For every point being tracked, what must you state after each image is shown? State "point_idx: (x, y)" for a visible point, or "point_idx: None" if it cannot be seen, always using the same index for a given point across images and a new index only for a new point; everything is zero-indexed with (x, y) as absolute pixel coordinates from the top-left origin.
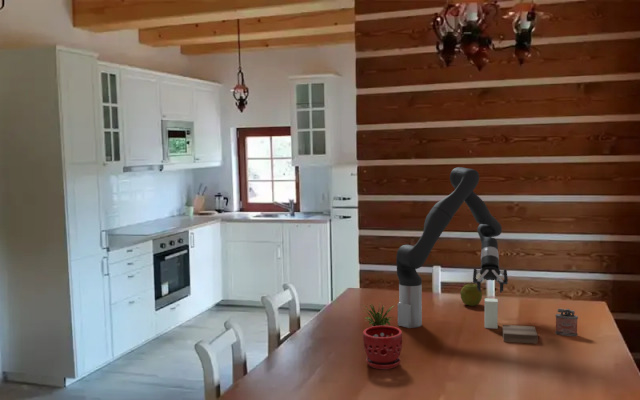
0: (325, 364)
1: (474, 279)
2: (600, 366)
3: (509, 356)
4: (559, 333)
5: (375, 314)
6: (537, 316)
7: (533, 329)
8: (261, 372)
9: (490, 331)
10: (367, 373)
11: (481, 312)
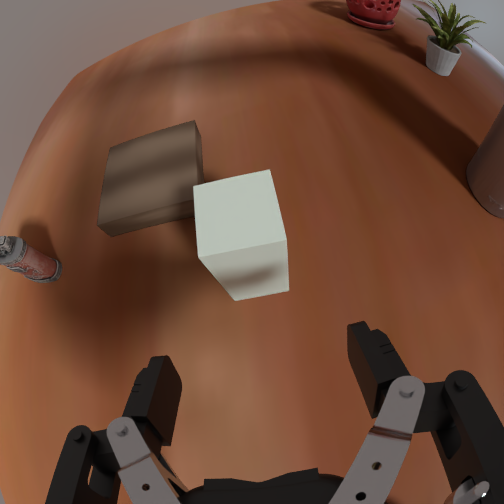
0: (424, 25)
1: (456, 379)
2: (64, 117)
3: (191, 76)
4: (54, 259)
5: (455, 25)
6: None
7: (106, 192)
8: None
9: None
10: None
11: None
